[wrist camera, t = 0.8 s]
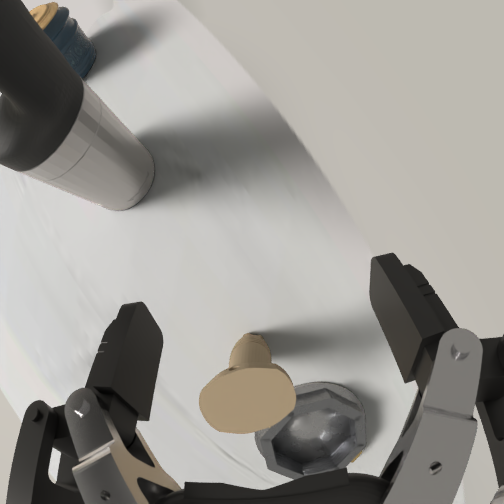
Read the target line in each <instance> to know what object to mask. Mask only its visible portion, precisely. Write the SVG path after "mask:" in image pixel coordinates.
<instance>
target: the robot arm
mask: <svg viewBox="0 0 504 504" xmlns="http://www.w3.org/2000/svg"><path fill="white" fill-rule="evenodd" d="M0 92H1V93H2V95H1V97H0V164H2V165H4V166H6V167H8V168H10V169H13V170H15V171H17V172H20V173H22V174H24V175H27V176H29V177H32V178H34V179H36V180H39V181H42V182H44V183H46V184H49V185H51V186H54V187H56V188H58V189H61V190H63V191H66V192H68V193H70V194H73V195H75V196H78V197H80V198H82V199H85V200H87V201H90V202H92V203H94V204H97V205H99V206H102V207H104V208H107V209H109V210H115V211H119V210H125V209H128V208H130V207H132V206H134V205H135V204H137V203H138V202H139V201H140V200H141V199H143V197H144V196H145V195H146V193H147V192H148V190H149V188H150V187H151V184H152V181H153V178H154V171H155V170H154V162H153V158H152V156H151V154H150V153H149V151H148V150H147V149H146V148H145V147H144V146H143V145H142V144H141V143H140V141H139V140H138V139H137V138H136V137H135V136H134V135H133V134H132V133H131V131H130V130H129V129H128V128H127V127H126V126H125V125H124V124H123V123H122V122H121V121H120V119H119V118H118V117H117V116H116V115H115V114H114V113H113V112H112V111H111V110H110V109H109V107H108V106H107V105H106V104H105V103H104V102H103V101H102V100H101V99H100V98H99V96H98V95H97V94H96V93H95V92H94V91H93V90H92V89H91V88H90V87H89V86H88V85H87V84H86V82H85V81H84V80H83V79H82V78H81V77H80V76H79V75H78V74H77V73H76V72H75V70H74V69H73V68H72V67H71V66H70V64H69V63H68V62H67V60H66V59H65V57H64V56H63V55H62V53H61V52H60V50H59V49H58V48H57V46H56V45H55V44H54V43H53V42H52V40H51V39H50V38H49V37H48V36H47V35H46V33H45V32H44V31H43V30H42V28H41V27H40V26H39V24H38V23H37V22H36V21H35V19H34V18H33V17H32V15H31V14H30V12H29V11H28V10H27V8H26V7H25V5H24V4H23V2H22V1H21V0H0ZM369 293H370V301H371V305H372V308H373V310H374V312H375V314H376V316H377V319H378V321H379V323H380V325H381V327H382V330H383V332H384V334H385V336H386V339H387V341H388V343H389V346H390V348H391V350H392V353H393V355H394V357H395V360H396V362H397V365H398V367H399V370H400V372H401V375H402V377H403V380H404V382H405V383H408V382H411V381H414V380H416V383H417V385H418V389H417V392H416V395H415V398H414V401H413V404H412V406H411V409H410V412H409V415H408V417H407V420H406V422H405V425H404V427H403V430H402V432H401V435H400V437H399V439H398V441H397V443H396V445H395V447H394V449H393V450H392V452H391V454H390V456H389V458H388V460H387V462H386V464H385V466H384V468H383V470H382V472H381V474H380V476H379V477H376V476H373V475H368V474H361V473H348V472H347V467H346V468H342V469H338V470H333V471H328V472H323V473H318V474H313V475H307V476H303V477H301V478H298V479H296V480H293V481H290V482H287V483H285V484H282V485H279V486H276V487H273V488H270V489H266V490H256V489H250V488H244V487H239V486H234V485H229V484H225V483H198V482H185V486H184V489H181V488H180V486H179V485H178V484H177V483H176V482H175V480H174V479H173V478H172V477H170V476H169V475H168V474H167V473H166V472H165V471H164V470H163V469H162V467H161V466H160V464H159V463H158V461H157V460H156V458H155V457H154V455H153V453H152V452H151V450H150V448H149V447H148V445H147V443H146V442H145V440H144V438H143V436H142V435H141V433H140V431H139V430H138V429H137V428H136V424H137V420H138V421H149V418H150V412H151V406H152V400H153V394H154V389H155V383H156V378H157V373H158V368H159V363H160V358H161V353H162V348H163V335H162V332H161V330H160V328H159V326H158V325H157V323H156V321H155V320H154V318H153V317H152V315H151V313H150V312H149V310H148V308H147V307H146V305H145V304H144V303H143V302H136V303H129V304H124V305H122V306H121V308H120V310H119V313H118V315H117V318H116V319H115V320H113V321H112V323H111V324H110V325H109V326H108V328H107V329H106V330H105V333H104V335H103V338H102V341H101V344H100V346H99V349H98V353H97V354H96V357H95V360H94V362H93V365H92V368H91V371H90V374H89V377H88V380H87V383H86V386H85V388H81V389H78V390H76V391H75V392H73V393H72V394H71V395H70V396H69V398H68V399H67V401H66V404H65V405H62V406H58V407H54V408H51V407H50V406H49V405H47V404H46V403H45V402H44V401H41V400H37V401H35V402H33V403H32V404H31V405H30V406H29V407H28V408H27V410H26V412H25V415H24V418H23V422H22V425H21V429H20V433H19V437H18V441H17V444H16V449H15V453H14V458H13V462H12V468H11V473H10V479H9V485H8V492H7V500H6V504H452V503H453V500H454V498H455V496H456V493H457V491H458V488H459V486H460V483H461V480H462V478H463V475H464V472H465V469H466V466H467V463H468V460H469V457H470V454H471V450H472V447H473V443H474V440H475V436H476V432H477V420H476V419H475V418H473V411H474V406H475V404H476V407H477V410H478V413H479V416H480V419H481V422H482V425H483V428H484V431H485V434H486V437H487V441H488V444H489V448H490V451H491V455H492V459H493V463H494V467H495V471H496V476H497V481H498V485H499V489H498V491H497V492H496V494H495V496H494V498H493V500H492V501H491V503H490V504H504V335H503V337H498V338H488V339H479V338H478V337H477V336H476V335H475V334H474V333H473V332H471V331H469V330H467V329H462V328H459V327H458V326H457V324H456V323H455V321H454V320H453V318H452V317H451V315H450V313H449V312H448V310H447V309H446V307H445V306H444V304H443V303H442V301H441V300H440V298H439V297H438V295H437V294H435V291H434V289H433V288H432V286H431V285H429V282H428V281H427V279H426V278H425V277H424V275H423V274H422V272H420V271H419V270H417V269H416V268H414V267H413V266H411V265H410V264H408V265H404V266H403V265H402V263H401V262H400V260H399V259H398V258H397V256H396V255H395V254H394V253H389V254H385V255H380V256H376V257H373V258H372V259H371V272H370V290H369ZM52 447H53V448H55V449H57V450H58V451H60V452H61V457H60V463H59V469H58V476H57V481H56V483H55V484H54V483H53V482H51V480H50V479H49V476H48V469H49V463H50V458H51V452H52Z"/></svg>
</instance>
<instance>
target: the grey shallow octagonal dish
mask: <svg viewBox="0 0 504 504" xmlns="http://www.w3.org/2000/svg"><path fill="white" fill-rule="evenodd" d="M294 390H295V393H296V403H295V407H294V409H293V410H292V411H291V412H290V413H289V414H288V415H287V416H286V417H284V418H283V419H282V420H281V421H280V422H278V423H276V424H275V425H273V426H271V427H268V428H266V429H262V430H259V431H256V432H255V441H256V445H257V447H258V450H259V451H260V453H261V454H262V455H263V457H264V458H265V460H266V464H267V467H268V469H269V470H271V471H274V472H276V473H279V474H281V475H284V476H286V477H289V478H292V479H294V480H296V479H298V478H301V477H303V476H307V475H313V474H318V473H323V472H328V471H333V470H338V469H342V468H345V467H346V466H347V465H348V464H349V463H350V462H352V463H353V462H354V461H355V460H356V459H357V458H358V457H359V456H360V454H361V453H362V451H361V450H362V449H363V448H364V447H365V446H366V430H365V412H364V409H363V406H362V404H361V402H360V401H359V400H358V398H357V397H356V396H355V395H354V394H353V393H352V392H351V391H349V390H348V389H346V388H344V387H342V386H340V385H337V384H333V383H327V382H312V383H306V384H301V385H298V386H295V387H294Z"/></svg>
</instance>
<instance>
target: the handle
mask: <svg viewBox="0 0 504 504" xmlns="http://www.w3.org/2000/svg"><path fill="white" fill-rule="evenodd" d="M295 403H296V393H295V390H294V387H293V383H292V381H291V379H290V377H289V375H288V374H287V373H286V371H285V370H284V369H282V368H281V367H280V366H278V365H277V364H273V363H271V353H270V350H269V347H268V345H267V344H266V342H265V341H264V340H263V337H262V336H261V335H252V334H250V333H246V334H244V335H243V337H242V338H241V339H240V340H239V341H238V342H237V343H236V344H235V346H234V348H233V350H232V352H231V355H230V361H229V368H228V369H226V370H224V371H222V372H220V373H219V374H218V375H217V376H215V377H214V378H213V379H212V380H211V381H210V382H209V383H208V384H207V385H206V386H205V387H204V388H203V389H202V391H201V393H200V397H199V406H200V410H201V412H202V415H203V416H204V418H205V420H206V421H207V422H208V423H209V424H210V426H212V427H213V428H214V429H216V430H218V431H219V432H226V433H237V434H247V433H252V432H256V431H259V430H262V429H266V428H268V427H271V426H273V425H275V424H276V423H278V422H280V421H281V420H282V419H283V418H284V417H286V416H287V415H288V414H289V413H290V412H291V411H292V410H293V409H294V407H295Z"/></svg>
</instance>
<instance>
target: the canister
mask: <svg viewBox="0 0 504 504" xmlns="http://www.w3.org/2000/svg"><path fill="white" fill-rule="evenodd" d="M30 14H31V15H32V17H33V18H34V19H35V21H36V22H37V23H38V24H39V26H40V27H41V28H42V30H43V31H44V32H45V33H46V35H47V36H48V37H49V38H50V39H51V40H52V42H53V43H54V44H55V45H56V46H57V48H58V49H59V50H60V52H61V53H62V55H63V56H64V57H65V59H66V60H67V62H68V63H69V64H70V66H71V67H72V68H73V69H74V70H75V72H76V73H77V74H78V75H79V76H80V77H81V78H82V79H83V78H84V76H85V75H86V74H87V73H88V71H89V70H90V68H91V67H92V65H93V63H94V60H95V57H96V51H95V48H94V45H93V43H92V42H91V40H90V39H89V38H87V36H86V35H85V34H84V33H83V31H82V30H81V28H80V27H79V25H78V23H77V21H76V20H75V19H73V18H70V17H69V9H68V8H66V7H58V4H57V3H55V2H52V3H48V4H45V5H40V6H38V7H36V8H34V9H33V10H31V11H30Z"/></svg>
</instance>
